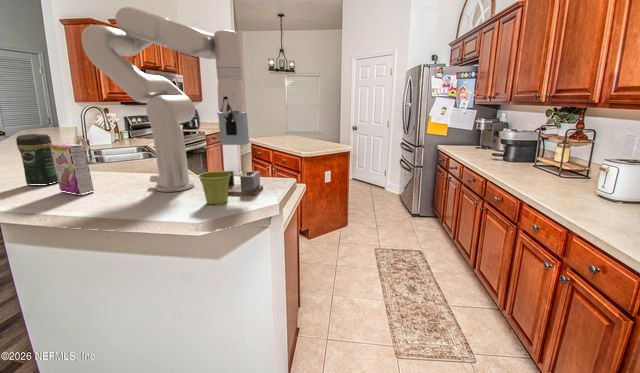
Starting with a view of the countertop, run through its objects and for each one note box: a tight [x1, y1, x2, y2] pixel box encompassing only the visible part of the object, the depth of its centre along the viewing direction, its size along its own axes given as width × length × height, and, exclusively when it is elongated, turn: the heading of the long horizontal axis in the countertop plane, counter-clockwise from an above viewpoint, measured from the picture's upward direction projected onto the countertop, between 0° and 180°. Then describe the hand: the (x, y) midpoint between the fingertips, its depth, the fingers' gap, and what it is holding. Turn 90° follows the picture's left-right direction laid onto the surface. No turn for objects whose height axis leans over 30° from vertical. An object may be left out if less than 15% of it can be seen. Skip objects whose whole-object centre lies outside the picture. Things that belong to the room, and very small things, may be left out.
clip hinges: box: [222, 170, 261, 191], centre depth 110 cm, size 13×8×5 cm, turn 85°
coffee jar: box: [15, 133, 58, 185], centre depth 119 cm, size 10×8×19 cm
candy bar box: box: [50, 142, 95, 194], centre depth 108 cm, size 11×5×16 cm, turn 65°
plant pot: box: [198, 170, 231, 206], centre depth 98 cm, size 9×9×9 cm
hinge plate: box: [228, 183, 264, 197], centre depth 111 cm, size 15×9×1 cm, turn 85°
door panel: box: [217, 111, 250, 146], centre depth 105 cm, size 8×4×10 cm, turn 85°
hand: (234, 133), depth 106 cm, fingers closed on door panel, 4 cm apart
